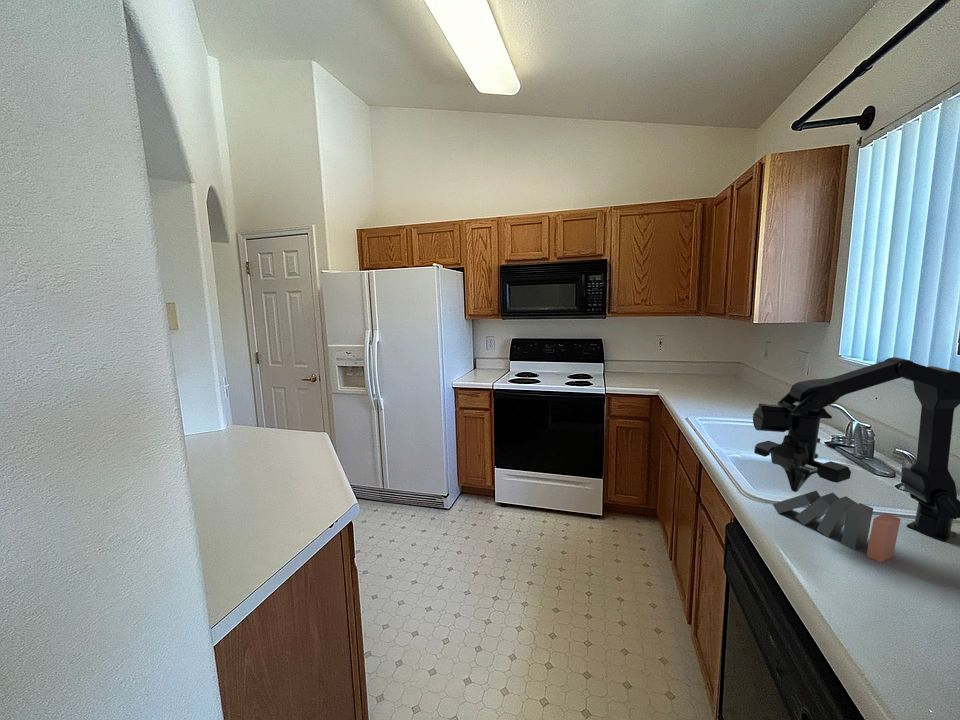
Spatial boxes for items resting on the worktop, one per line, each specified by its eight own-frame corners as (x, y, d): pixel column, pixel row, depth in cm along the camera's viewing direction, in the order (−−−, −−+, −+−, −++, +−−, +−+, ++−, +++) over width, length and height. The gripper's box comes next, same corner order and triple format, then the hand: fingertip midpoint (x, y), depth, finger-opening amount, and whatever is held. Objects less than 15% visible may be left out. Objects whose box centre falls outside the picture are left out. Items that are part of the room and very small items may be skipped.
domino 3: (816, 529, 94) (833, 500, 91) (828, 524, 96) (845, 496, 93) (827, 537, 92) (845, 508, 89) (839, 532, 94) (857, 503, 91)
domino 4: (841, 543, 90) (847, 507, 88) (853, 538, 92) (859, 502, 90) (854, 550, 88) (861, 513, 86) (866, 544, 90) (873, 508, 88)
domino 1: (772, 504, 103) (804, 494, 96) (784, 500, 105) (816, 490, 98) (778, 513, 102) (810, 504, 95) (790, 509, 104) (823, 500, 97)
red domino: (866, 555, 86) (873, 518, 84) (878, 549, 88) (885, 513, 86) (880, 562, 84) (888, 524, 82) (893, 556, 86) (900, 518, 84)
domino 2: (795, 516, 99) (820, 496, 93) (807, 512, 100) (832, 492, 95) (803, 525, 97) (830, 505, 91) (815, 520, 99) (842, 501, 93)
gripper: (743, 425, 103) (737, 481, 106) (828, 452, 86) (818, 517, 89) (771, 420, 107) (764, 473, 110) (857, 444, 90) (846, 506, 93)
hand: (794, 491), depth 101 cm, fingers closed
